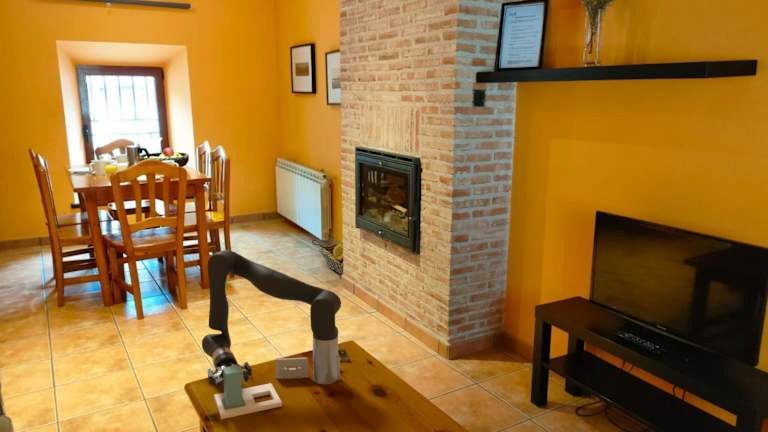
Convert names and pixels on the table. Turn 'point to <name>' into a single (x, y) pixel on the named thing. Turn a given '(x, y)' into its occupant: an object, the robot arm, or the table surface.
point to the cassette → (291, 372)
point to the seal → (343, 355)
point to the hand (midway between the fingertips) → (233, 382)
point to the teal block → (232, 385)
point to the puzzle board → (248, 401)
